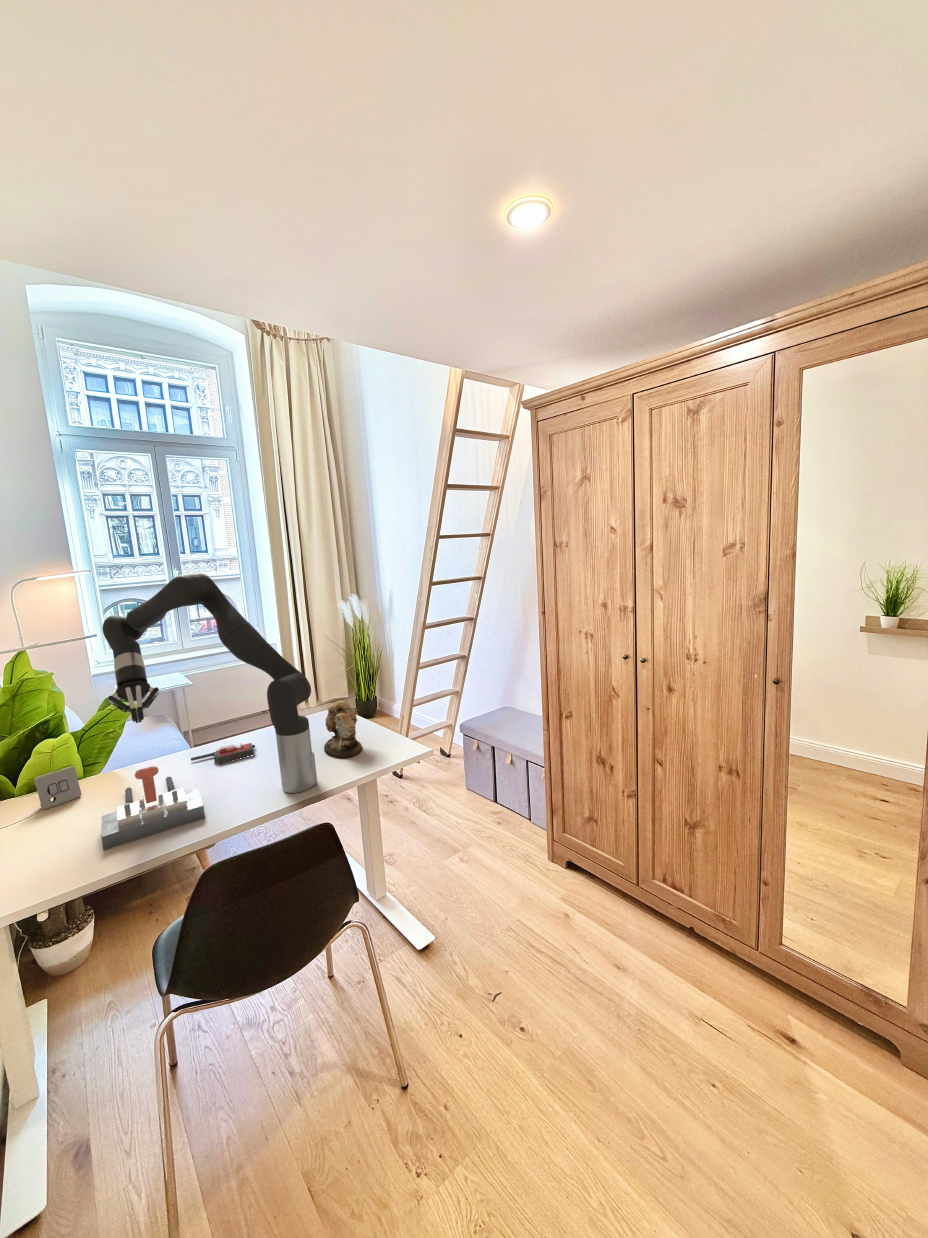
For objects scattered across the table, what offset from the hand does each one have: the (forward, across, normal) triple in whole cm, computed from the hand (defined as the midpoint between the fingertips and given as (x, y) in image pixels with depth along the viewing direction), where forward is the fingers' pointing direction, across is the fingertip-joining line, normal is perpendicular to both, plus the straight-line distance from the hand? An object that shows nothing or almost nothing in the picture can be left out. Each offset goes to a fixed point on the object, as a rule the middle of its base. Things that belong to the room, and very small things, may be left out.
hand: (138, 721), depth 142 cm
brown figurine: (+21, +56, +12) cm, 61 cm away
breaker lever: (+24, 0, -1) cm, 24 cm away
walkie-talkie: (+7, +22, +27) cm, 35 cm away
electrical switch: (+6, -22, +27) cm, 35 cm away
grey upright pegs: (+18, 0, +15) cm, 23 cm away
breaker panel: (+29, 0, +4) cm, 29 cm away
